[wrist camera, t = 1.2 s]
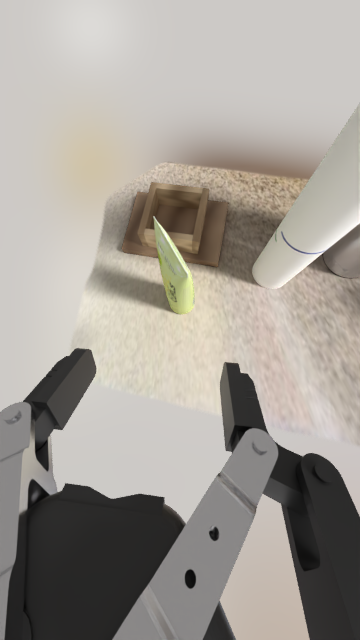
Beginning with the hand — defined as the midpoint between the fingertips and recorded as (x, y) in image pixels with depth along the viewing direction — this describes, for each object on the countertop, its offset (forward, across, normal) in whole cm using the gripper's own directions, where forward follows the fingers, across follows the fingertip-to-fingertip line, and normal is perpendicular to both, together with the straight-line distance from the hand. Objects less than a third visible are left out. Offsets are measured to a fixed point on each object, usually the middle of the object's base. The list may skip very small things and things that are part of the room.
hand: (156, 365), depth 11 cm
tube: (+26, 0, +9) cm, 27 cm away
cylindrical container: (+31, -17, +4) cm, 35 cm away
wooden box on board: (+37, +3, -2) cm, 37 cm away
